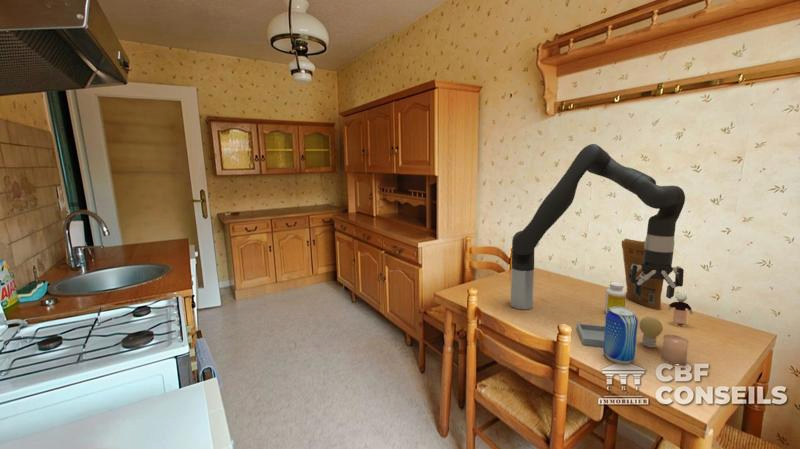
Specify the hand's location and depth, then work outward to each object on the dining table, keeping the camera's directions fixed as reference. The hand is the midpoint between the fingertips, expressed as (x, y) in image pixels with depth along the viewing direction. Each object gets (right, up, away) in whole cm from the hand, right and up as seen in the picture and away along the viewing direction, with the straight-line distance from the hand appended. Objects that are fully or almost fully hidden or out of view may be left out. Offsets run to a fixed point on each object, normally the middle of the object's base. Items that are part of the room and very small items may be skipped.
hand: (653, 296), depth 113 cm
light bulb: (+1, -18, +4) cm, 18 cm away
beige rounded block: (+3, -19, -5) cm, 20 cm away
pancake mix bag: (+23, -11, +38) cm, 46 cm away
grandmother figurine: (+22, -15, +18) cm, 32 cm away
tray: (-13, -17, +9) cm, 23 cm away
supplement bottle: (+5, -13, +28) cm, 32 cm away
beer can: (-13, -19, -3) cm, 24 cm away
